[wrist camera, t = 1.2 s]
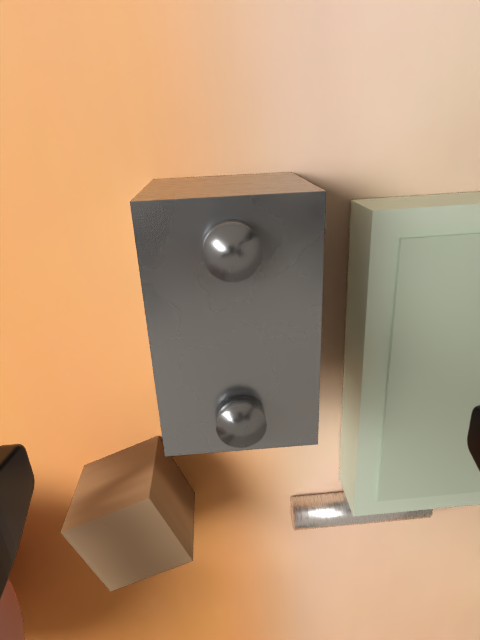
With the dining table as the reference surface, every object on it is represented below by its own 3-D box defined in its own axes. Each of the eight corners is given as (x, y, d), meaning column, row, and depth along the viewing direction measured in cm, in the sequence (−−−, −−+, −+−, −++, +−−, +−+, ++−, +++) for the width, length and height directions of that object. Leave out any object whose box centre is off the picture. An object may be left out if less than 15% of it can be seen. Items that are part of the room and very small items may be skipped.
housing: (290, 171, 17) (331, 193, 11) (290, 364, 21) (321, 455, 15) (153, 178, 17) (126, 205, 11) (175, 373, 20) (163, 468, 15)
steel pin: (416, 483, 25) (428, 486, 23) (421, 515, 24) (434, 519, 23) (288, 495, 24) (292, 498, 23) (292, 527, 24) (296, 532, 22)
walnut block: (158, 434, 21) (148, 497, 18) (194, 491, 23) (192, 560, 19) (84, 464, 22) (60, 532, 18) (125, 518, 23) (110, 591, 20)
